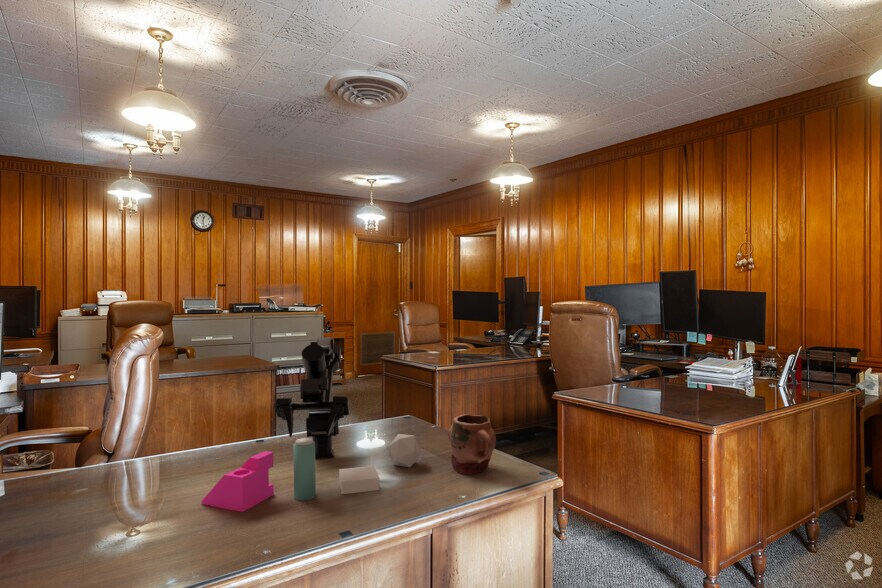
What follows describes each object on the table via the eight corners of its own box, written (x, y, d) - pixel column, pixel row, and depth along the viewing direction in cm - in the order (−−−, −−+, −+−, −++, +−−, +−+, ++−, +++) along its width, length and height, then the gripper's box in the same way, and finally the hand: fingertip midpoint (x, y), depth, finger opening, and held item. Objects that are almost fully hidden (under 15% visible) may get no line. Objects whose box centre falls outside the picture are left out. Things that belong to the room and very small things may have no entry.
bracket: (273, 494, 121) (273, 452, 121) (242, 512, 112) (242, 466, 112) (234, 488, 126) (234, 447, 126) (201, 504, 116) (201, 460, 116)
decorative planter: (514, 477, 130) (513, 423, 130) (474, 486, 124) (473, 430, 124) (472, 456, 148) (472, 408, 148) (436, 463, 142) (435, 414, 142)
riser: (339, 480, 129) (339, 469, 129) (374, 477, 132) (374, 465, 132) (341, 494, 121) (341, 481, 121) (379, 490, 123) (378, 477, 123)
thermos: (294, 493, 122) (293, 438, 122) (315, 490, 123) (314, 436, 123) (293, 501, 117) (293, 444, 117) (315, 498, 118) (315, 442, 118)
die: (426, 464, 143) (414, 431, 148) (422, 457, 135) (410, 423, 140) (398, 476, 142) (387, 443, 147) (393, 470, 135) (381, 435, 139)
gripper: (275, 366, 131) (264, 419, 120) (347, 365, 132) (344, 417, 121) (282, 391, 139) (273, 443, 128) (351, 389, 140) (347, 440, 129)
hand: (309, 435), depth 126 cm, fingers open, 9 cm apart
